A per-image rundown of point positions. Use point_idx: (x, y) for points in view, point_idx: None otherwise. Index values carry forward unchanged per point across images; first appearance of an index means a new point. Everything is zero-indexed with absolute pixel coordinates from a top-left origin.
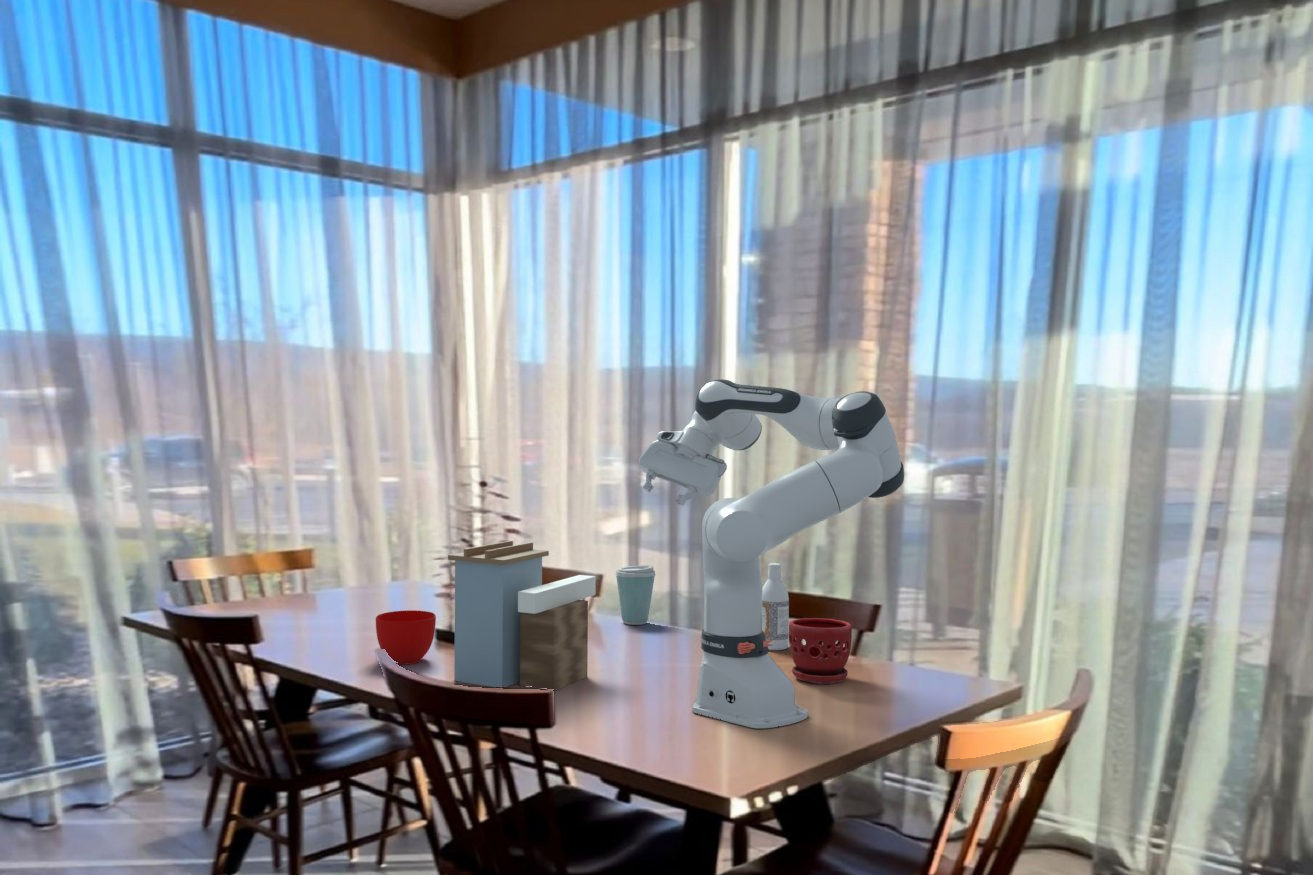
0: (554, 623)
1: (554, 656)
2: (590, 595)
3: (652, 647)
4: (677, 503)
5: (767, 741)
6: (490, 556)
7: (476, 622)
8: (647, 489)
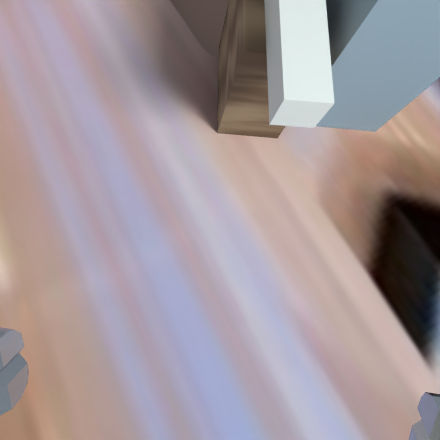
0: None
1: (227, 9)
2: (268, 100)
3: (216, 387)
4: (25, 368)
5: None
6: None
7: None
8: (430, 396)
